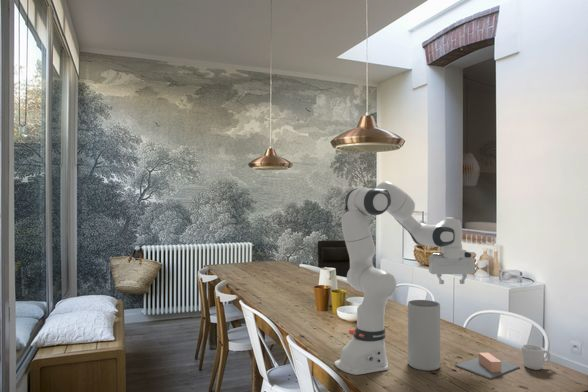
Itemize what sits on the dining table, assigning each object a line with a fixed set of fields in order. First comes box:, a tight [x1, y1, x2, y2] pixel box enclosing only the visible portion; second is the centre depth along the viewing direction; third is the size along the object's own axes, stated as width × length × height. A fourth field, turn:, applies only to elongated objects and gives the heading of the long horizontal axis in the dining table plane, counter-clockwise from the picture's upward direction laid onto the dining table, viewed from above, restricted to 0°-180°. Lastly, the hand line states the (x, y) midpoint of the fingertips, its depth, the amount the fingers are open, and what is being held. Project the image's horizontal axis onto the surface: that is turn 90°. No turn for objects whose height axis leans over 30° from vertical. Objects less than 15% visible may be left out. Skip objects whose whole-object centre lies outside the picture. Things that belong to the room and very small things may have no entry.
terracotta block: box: [478, 352, 501, 372], centre depth 168 cm, size 4×4×10 cm
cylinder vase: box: [407, 299, 441, 372], centre depth 172 cm, size 12×12×25 cm
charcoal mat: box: [455, 356, 520, 380], centre depth 170 cm, size 20×15×1 cm
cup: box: [521, 344, 551, 371], centre depth 170 cm, size 11×8×8 cm
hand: (451, 283), depth 191 cm, fingers open, 8 cm apart
